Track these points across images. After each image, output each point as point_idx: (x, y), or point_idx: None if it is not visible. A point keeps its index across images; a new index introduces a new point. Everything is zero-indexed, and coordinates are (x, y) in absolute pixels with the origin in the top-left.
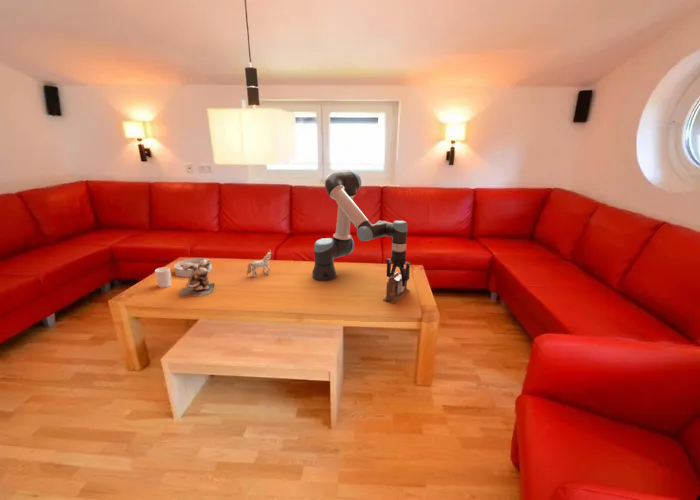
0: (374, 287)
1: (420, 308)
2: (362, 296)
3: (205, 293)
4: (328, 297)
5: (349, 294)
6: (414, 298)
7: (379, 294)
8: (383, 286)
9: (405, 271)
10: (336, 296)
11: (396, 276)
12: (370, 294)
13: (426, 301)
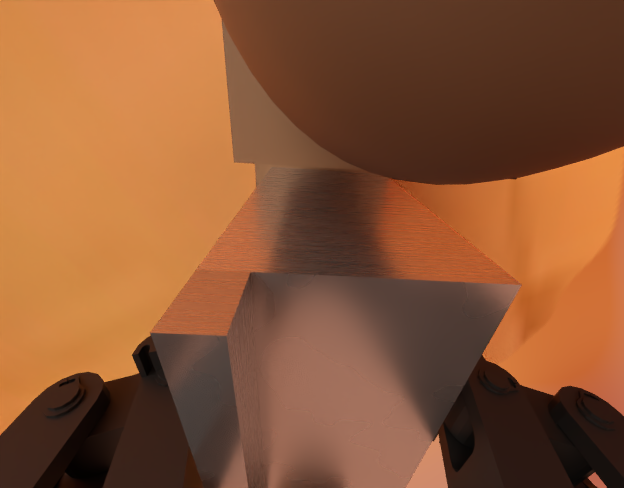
0: (38, 166)
1: (520, 322)
2: (121, 343)
3: None
4: (2, 414)
5: (37, 354)
6: (477, 207)
7: (187, 273)
8: (80, 82)
9: None
10: (16, 395)
11: (293, 417)
12: (136, 301)
13: (585, 212)
